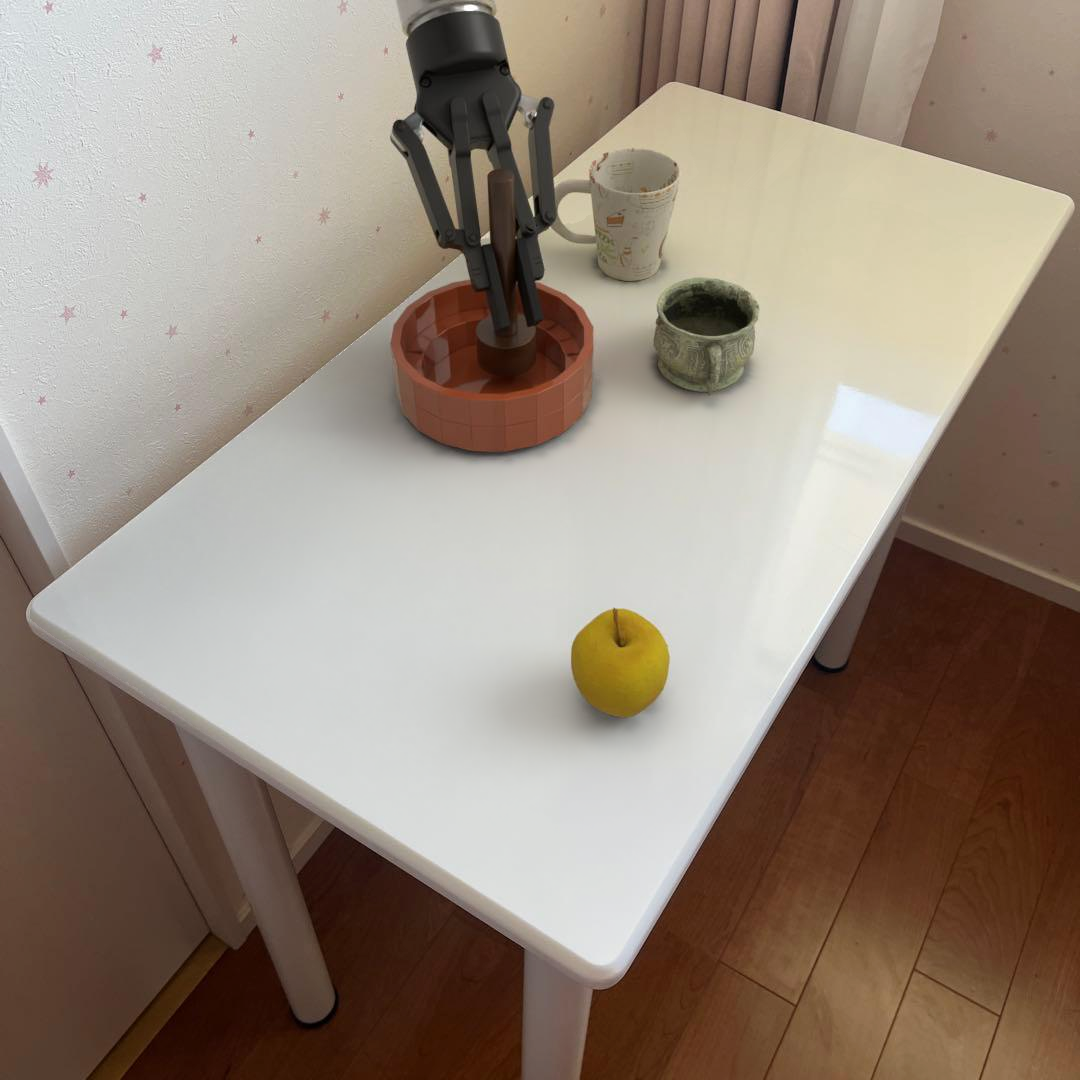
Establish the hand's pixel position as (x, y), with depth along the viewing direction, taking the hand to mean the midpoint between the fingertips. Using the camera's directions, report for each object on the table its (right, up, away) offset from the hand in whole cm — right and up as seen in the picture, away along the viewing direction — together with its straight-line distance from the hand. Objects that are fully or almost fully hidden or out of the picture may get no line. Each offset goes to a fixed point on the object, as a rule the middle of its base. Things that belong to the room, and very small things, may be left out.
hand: (519, 326), depth 87 cm
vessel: (+16, -2, +10) cm, 19 cm away
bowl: (-2, -4, +8) cm, 9 cm away
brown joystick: (-1, -1, +7) cm, 7 cm away
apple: (+7, -28, -14) cm, 32 cm away
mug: (+8, +10, +21) cm, 25 cm away
